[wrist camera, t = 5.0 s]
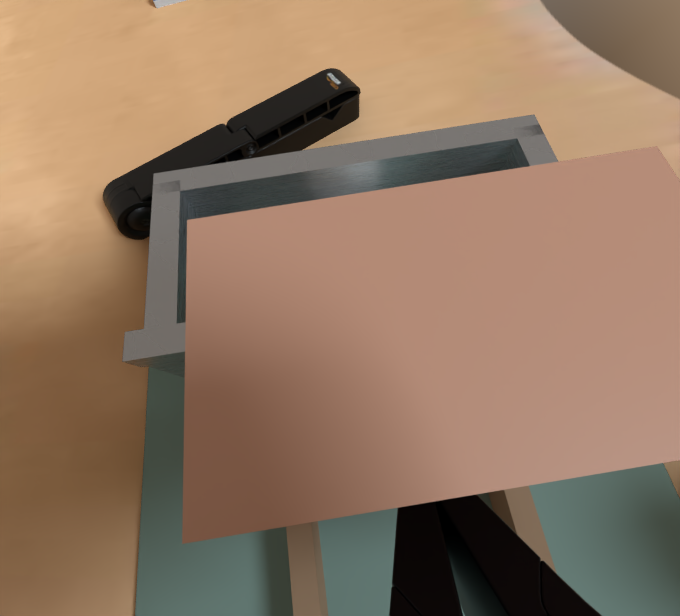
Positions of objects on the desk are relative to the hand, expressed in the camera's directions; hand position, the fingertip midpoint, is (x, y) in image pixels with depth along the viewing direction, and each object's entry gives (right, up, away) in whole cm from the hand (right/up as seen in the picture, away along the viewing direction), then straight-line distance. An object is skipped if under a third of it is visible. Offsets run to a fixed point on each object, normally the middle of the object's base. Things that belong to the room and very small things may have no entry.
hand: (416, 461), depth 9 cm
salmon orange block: (0, -1, +8) cm, 8 cm away
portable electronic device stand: (-9, +14, +14) cm, 22 cm away
